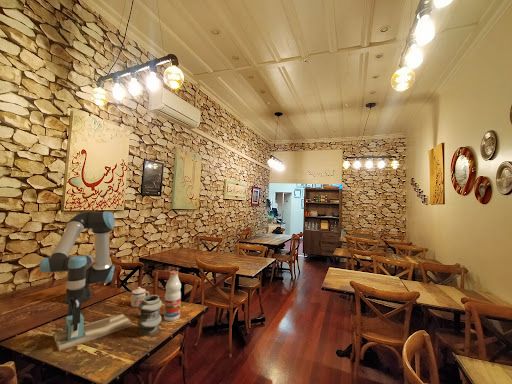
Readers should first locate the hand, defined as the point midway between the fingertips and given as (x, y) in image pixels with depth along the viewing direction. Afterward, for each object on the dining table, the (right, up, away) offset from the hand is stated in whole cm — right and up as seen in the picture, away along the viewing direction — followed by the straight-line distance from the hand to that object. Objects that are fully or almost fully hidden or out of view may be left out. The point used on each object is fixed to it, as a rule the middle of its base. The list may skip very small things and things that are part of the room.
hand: (72, 333), depth 118 cm
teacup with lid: (+13, -6, +44) cm, 46 cm away
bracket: (0, -1, +1) cm, 1 cm away
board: (+6, -4, +8) cm, 11 cm away
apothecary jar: (+34, -5, +11) cm, 36 cm away
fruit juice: (+41, -6, +26) cm, 49 cm away
